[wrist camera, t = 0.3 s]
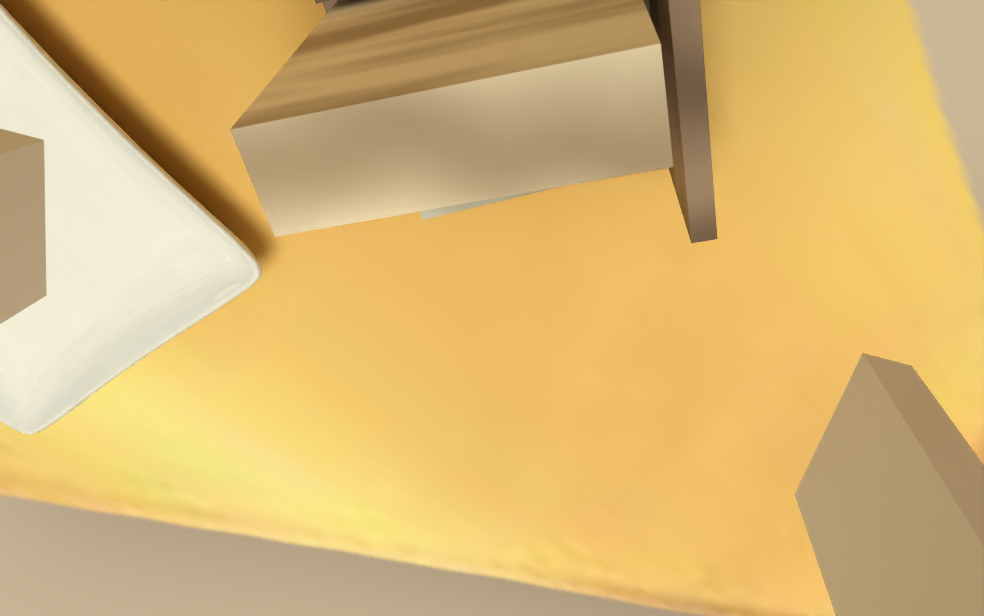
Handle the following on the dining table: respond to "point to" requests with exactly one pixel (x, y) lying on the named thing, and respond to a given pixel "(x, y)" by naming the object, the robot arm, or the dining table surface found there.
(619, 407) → the dining table surface
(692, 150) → the walnut rack
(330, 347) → the dining table surface
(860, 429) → the robot arm
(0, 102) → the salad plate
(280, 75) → the birch board
